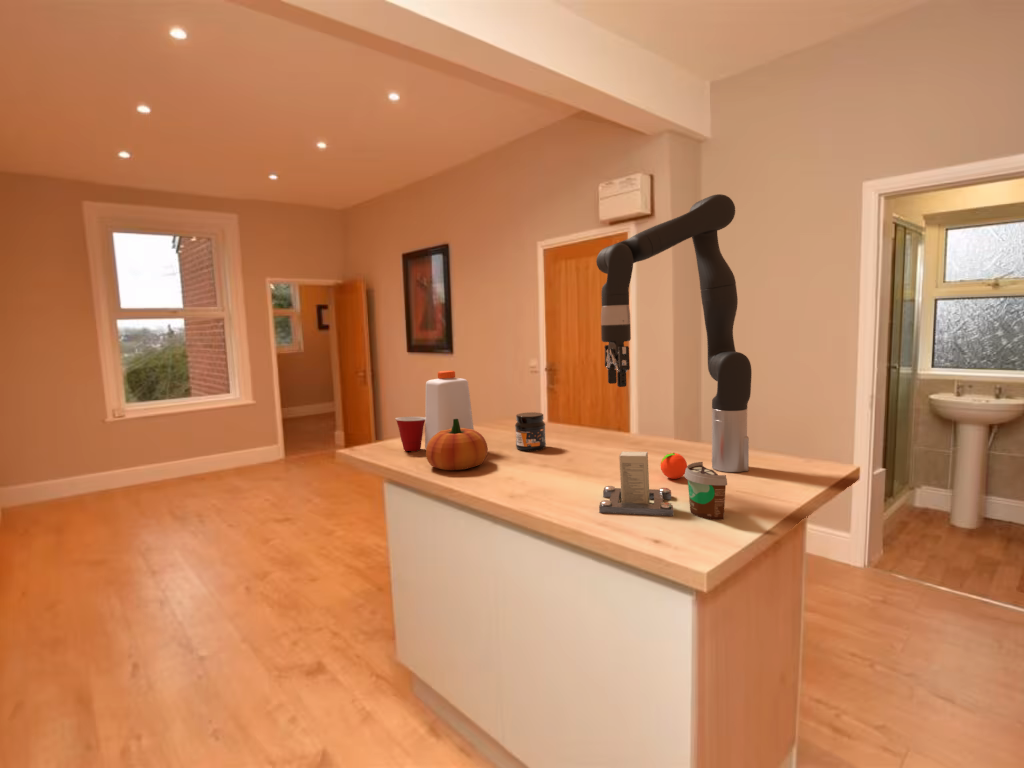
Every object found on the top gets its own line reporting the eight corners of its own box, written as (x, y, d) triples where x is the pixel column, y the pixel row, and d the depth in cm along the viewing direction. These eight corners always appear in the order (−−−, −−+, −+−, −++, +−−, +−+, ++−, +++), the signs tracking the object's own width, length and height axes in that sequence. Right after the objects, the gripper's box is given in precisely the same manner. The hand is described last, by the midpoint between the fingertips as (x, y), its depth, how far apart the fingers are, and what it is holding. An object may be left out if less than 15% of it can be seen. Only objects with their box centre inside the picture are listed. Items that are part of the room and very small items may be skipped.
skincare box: (649, 502, 127) (649, 451, 125) (648, 508, 122) (647, 455, 121) (622, 500, 129) (621, 450, 127) (620, 506, 125) (619, 454, 123)
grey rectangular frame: (670, 496, 130) (670, 487, 130) (673, 516, 117) (673, 506, 116) (604, 493, 134) (604, 485, 134) (599, 512, 121) (599, 503, 120)
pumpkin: (462, 455, 181) (460, 411, 179) (501, 464, 167) (499, 417, 165) (414, 467, 167) (411, 420, 166) (452, 478, 154) (449, 427, 152)
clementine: (670, 484, 140) (670, 457, 139) (652, 478, 146) (651, 452, 145) (692, 479, 143) (692, 453, 142) (674, 473, 149) (673, 448, 148)
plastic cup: (434, 448, 193) (432, 415, 192) (413, 454, 184) (411, 420, 183) (412, 445, 199) (410, 413, 197) (390, 452, 190) (388, 418, 188)
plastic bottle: (456, 443, 199) (452, 368, 196) (480, 449, 188) (476, 370, 185) (420, 450, 190) (416, 372, 187) (444, 457, 178) (439, 374, 175)
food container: (675, 504, 124) (675, 462, 123) (701, 503, 124) (701, 461, 123) (698, 524, 112) (698, 477, 111) (727, 522, 112) (727, 475, 111)
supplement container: (513, 451, 182) (512, 417, 181) (518, 445, 193) (517, 412, 191) (544, 451, 181) (543, 416, 179) (547, 444, 191) (546, 411, 190)
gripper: (638, 322, 133) (639, 387, 135) (621, 323, 147) (622, 381, 149) (609, 323, 132) (610, 388, 134) (594, 324, 146) (596, 383, 148)
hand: (616, 385), depth 141 cm, fingers open, 8 cm apart
